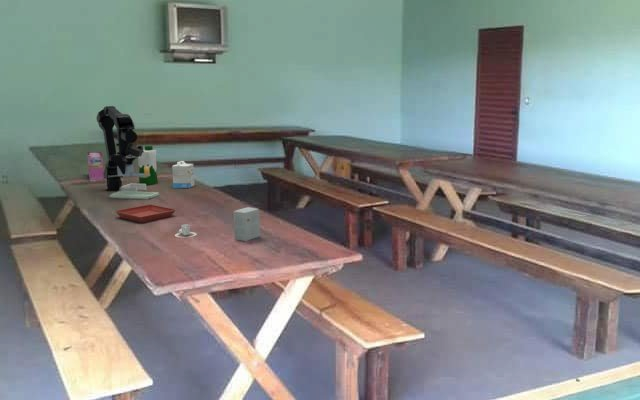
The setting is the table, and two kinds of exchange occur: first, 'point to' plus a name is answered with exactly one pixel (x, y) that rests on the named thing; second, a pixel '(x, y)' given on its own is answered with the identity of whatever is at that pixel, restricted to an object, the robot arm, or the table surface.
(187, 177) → the ink box
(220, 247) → the table surface
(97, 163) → the pink product box
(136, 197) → the tray
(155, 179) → the milk carton
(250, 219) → the small box
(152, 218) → the plant saucer
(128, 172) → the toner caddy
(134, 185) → the frame
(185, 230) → the charger with coiled cable
